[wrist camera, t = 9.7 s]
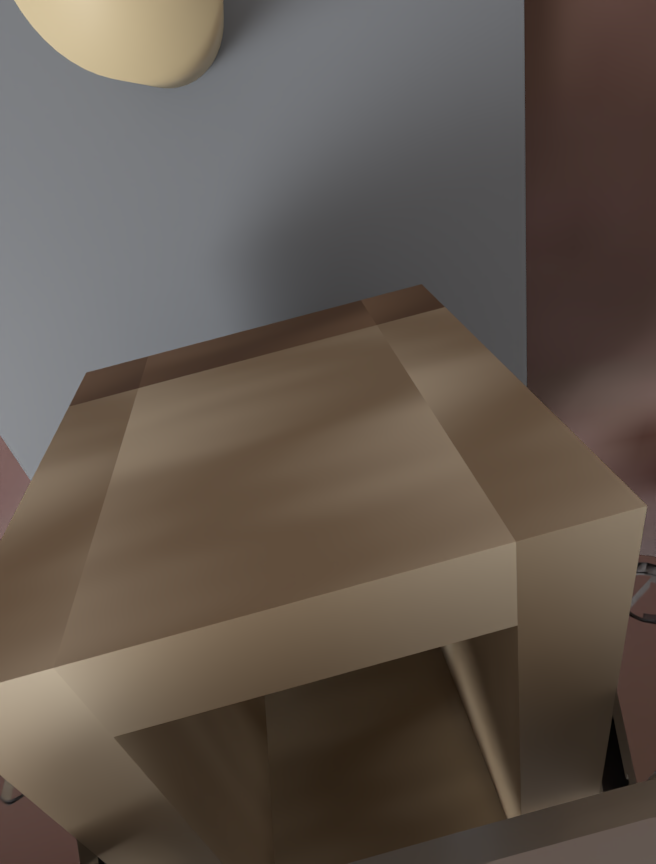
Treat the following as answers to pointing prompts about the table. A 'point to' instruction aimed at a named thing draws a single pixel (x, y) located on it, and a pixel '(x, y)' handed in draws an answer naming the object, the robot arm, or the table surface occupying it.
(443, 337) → the sleeve
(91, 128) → the pin board
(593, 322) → the table surface
